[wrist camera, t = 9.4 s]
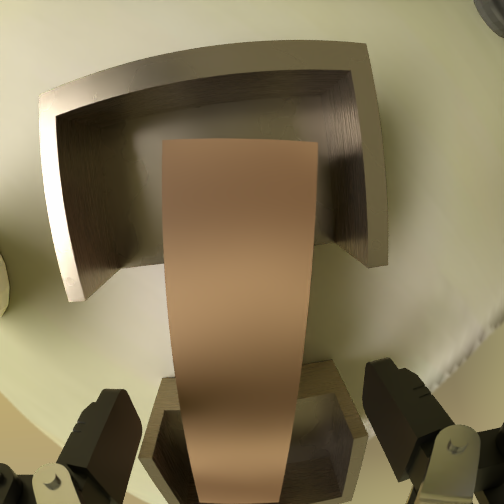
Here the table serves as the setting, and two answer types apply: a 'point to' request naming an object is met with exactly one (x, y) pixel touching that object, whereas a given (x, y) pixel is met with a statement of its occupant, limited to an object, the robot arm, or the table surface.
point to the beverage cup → (492, 14)
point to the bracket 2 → (300, 451)
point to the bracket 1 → (206, 127)
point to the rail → (238, 303)
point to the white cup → (3, 287)
